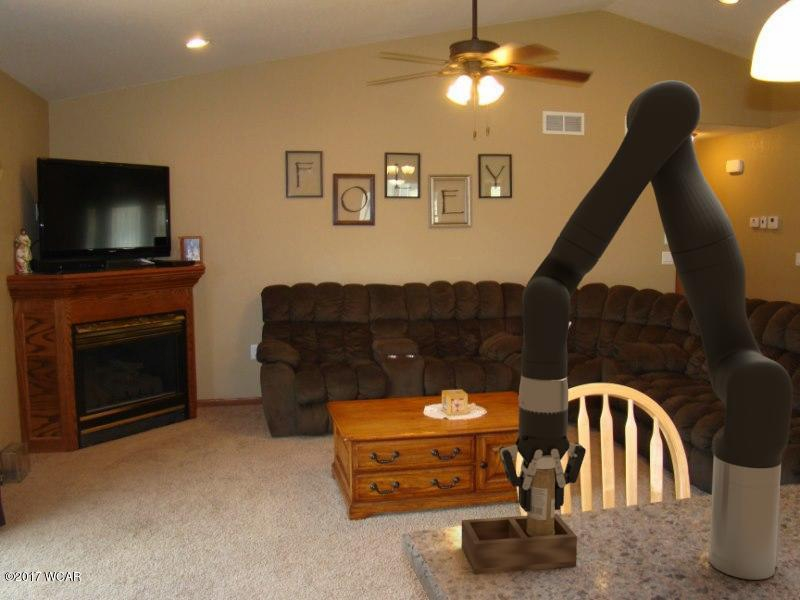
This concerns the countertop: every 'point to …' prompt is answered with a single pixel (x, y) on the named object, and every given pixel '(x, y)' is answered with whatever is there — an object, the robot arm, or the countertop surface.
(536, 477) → the sprinkles bottle
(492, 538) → the spice caddy
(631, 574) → the countertop surface
